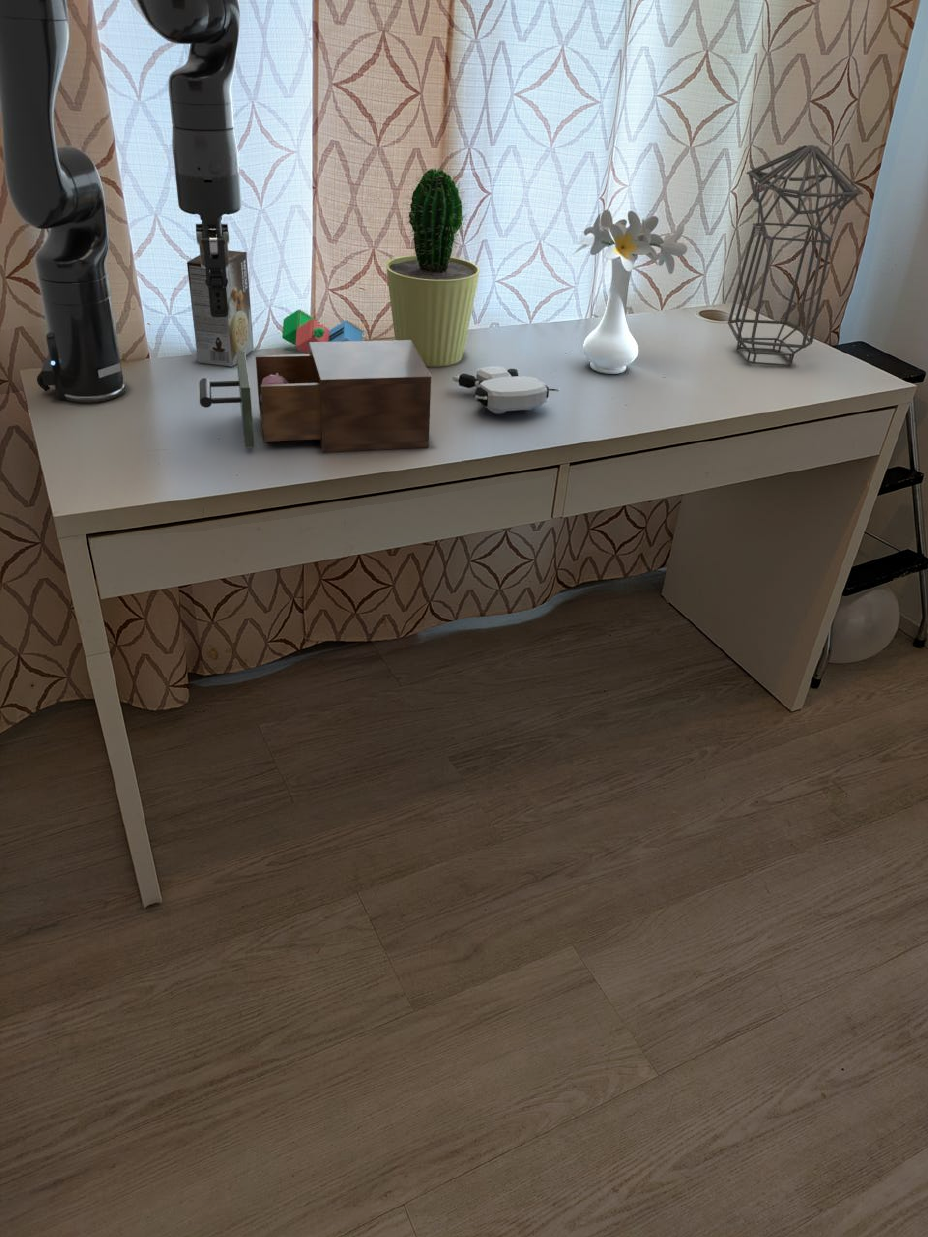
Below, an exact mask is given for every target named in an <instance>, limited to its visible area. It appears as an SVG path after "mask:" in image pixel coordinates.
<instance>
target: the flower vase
mask: <svg viewBox="0 0 928 1237" xmlns="http://www.w3.org/2000/svg"><path fill="white" fill-rule="evenodd" d="M641 219H642V220H641ZM641 219H640V217H639V215H638V214H637V213H636V212H635V211H633V210H629V211H628V212H627V219H625V218H623V219H619V220H618V221H616V222H615V223H613V216H612V212H611V211H610V210H608V209H605V210H604V211H603V212H602V213H601V212H600V213H599V214H598V215H597V217H596V219H595V221H594V223H593V226H589V227H586V228H585V229H584V230H583V235H584V237H583V238H582V240H581V241H580V242H579V245H580V246H579V247H578V248H577V249H576V250H575V251H574V253H573V254H572V255H573V256H575V255H576V254H577V253H579V252H581V251H583V250H585V249H587V248H589V247H591V248H590V251H589V254H590V255H591V256H595V255H597V254H600V252H601V251H602V250H604V249H605V248H606V249H605V250H604V251H603V258H604V259H605V260H610V261H611V278H610V286H609V287H610V288H609V291H608V296H607V303H606V308H605V312H604V314H603V316H602V319H601V321H600V323H599V324H598V326H597V327H596V328H595V329H593V330H592V331H591V332H590V333H589V334H588V335H587V337H586V338H585V339H584V342H583V343H582V344H583V345H582V351H583V355H584V356H585V357H586V359H587V360H588V361H589V366H590V368H591V369H592V370H593V371H595V372H598V373H601V374H608V375H617V374H618V375H619V374H622V373H624V372H625V371H626V370H627V366H628V365H630V364H631V363H633V362H634V360H636V358H637V357H638V356H639V346H638V342H637V340H636V338H635V336H634V335H633V334H632V332H631V331H630V329H629V325H628V321H627V303H628V296H629V294H628V293H629V286H630V280H631V275H632V272H633V270H634V267H635V264H636V261H637V260H638V257H639V256H643V255H644V256H646V257H648V258H649V259H650V260H651V261H652V262H653V263H655V264H656V265H657V266H659V267H662V266H663V265H664V263H665V266H666V269H667V272H668V274H669V275H672V274H673V273H674V270H675V265H676V264H675V258H674V257H681V256H684V255H685V254H686V253H687V252H688V246H687V245H686V243H683V242H678V241H679V240H680V239H681V237H682V236H683V234H684V232H685V225H683V224H682V225H680V226H679V227H678V228H677V229H676V230H675V231H674V232H673V234H671V233H670V232H667V233H666V234H665V235H664V238H663V237H662V236H660V235H659V234H656V233H652V232H653V231H654V230H655V229H656V228H657V226H658V224H659V222H660V219H659V217H658V216H656V215H652V216H649V217H647V218H646V219H644V218H641ZM627 220H628V221H627ZM627 224H629V225H628V227H627ZM654 247H657V248H658V249H660V252H659V253H660V254H658V252H657V251H656V249H655V248H654ZM657 260H658V261H657Z"/></svg>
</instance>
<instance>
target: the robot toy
mask: <svg viewBox="0 0 928 1237" xmlns="http://www.w3.org/2000/svg"><path fill="white" fill-rule="evenodd" d="M518 371H519V370H518V369H516V368H508V369H506V368H504V367H503V366H499V365H498V366H497V365H494V366H483V367H480V368H477V369H476V376H475V375H472V374H467V373H461V374H456V375H454V376H452V381H453V382H455V383H458V386H459V387H463V388H467V389H472V388H476V389H475V395H474V400H476V401H477V402H478V403H479V404H481V405H482V406H483V407H485V408H487V409H488V411H490V412H491V413H493V414H496V415H501V414H505V413H506V412H513V411H531V410H533V409H535V408H540V407H542V405H544V404H545V403H547V400H548V398H549V396H550V392H551V391H552V392H560V388H550V387H549V386H548V385H547V384H546V383H544V382H543V381H542V380H539V379H538V378H536V377H532V376H524V375H523V376H521V375H520V376H519V372H518Z"/></svg>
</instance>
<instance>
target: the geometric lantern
mask: <svg viewBox="0 0 928 1237" xmlns="http://www.w3.org/2000/svg"><path fill="white" fill-rule="evenodd" d="M806 158H807V161H806V165H805V168H804V172H803V176H802V177H801V176H800V177H799V176H798V177H797V176H794V177H793V176H792V175H793V174H794V173H795V172H796V171H797V169H798V168H799V167H800V166H801V164H802V163H803V161H804V160H805V159H806ZM812 163H813V164H812ZM778 164H779V165H778ZM811 164H812V165H813V171H814V174H810V175H809V172H810V169H811V168H810V167H811ZM818 164H819V166H820V168H821V169H822V172H823V173H819V168H818ZM776 165H778V166H776ZM773 166H776V167H774V169H772V170H770V171H769V172H765V171H764V170H767V169H769V168H772V167H773ZM788 171H789V173H788V174H787V175H786V173H787V172H788ZM827 171H828V172H829V174H830V175H829V174H828V173H827ZM746 175H748V178H749V182H750V186H751V191H752V194H753V197H752V200H753V201H754V202H755V203H758V207H757V208H758V209H757V222H753V223H752V228H751V232H750V237H749V240H748V245H747V247H746V252H745V255H744V258H743V259H744V260H743V263H742V267H741V271H740V275H739V279H738V282H737V286H736V290H735V294H734V298H733V301H732V306H731V309H730V311H729V317H728V320H727V325H728V327H729V329H730V330H731V332H732V334H733V336H734V338H735V340H736V341H737V344H736V349H735V350H736V351H737V353H738V354H739V355H740V356H741V357H742V358H743V360H744V361H745V362H746V363H747V364H752V365H761V366H762V365H764V366H780V367H791V366H792V365H793V360H794V357H795V354H797V353H798V352H799V351H801V350H803V349H806V348H807V347H809V346H810V345H812V344H813V343H814V335H815V331H816V325H817V319H818V315H819V309H820V305H821V298H822V294H823V289H824V288H823V287H824V283H825V279H826V278H825V277H826V272H827V268H828V262H829V257H830V251H831V246H832V243H833V241H834V239H833V237H834V234H835V231H836V229H837V228H836V227H837V225H838V222H839V219H840V216H841V212H842V210H845V207H846V206H847V205H848V204H850V203H851V202H852V201H853V200H855V198H857V197H858V196H859V195H863V194H864V191H863V190H861V188H859V186H857V184H855V182H854V181H853V180H851V178H850V177H849V176H848V175H847V174H846V173H845V172H844V171H843V170H842V169H841V168H840V167H839V166H838V164H836V163H835V162H834V161H833V160H832V159H831V158H830V157H829V156H828V155H827V154H826V153H825V152H824V151H823V150H822V148H820V146H818V145H815V144H813V145H812V144H808V145H806V144H804V145H802V146H799V147H797V148H796V149H795V148H794V150H791V151H790V152H787V153H785V154H783V155H781V156H779V157H777V158H774V159H772V160H770V161H768V162H766V163H764V164H762V165H760V166H757V167H756V168H753V169H751V170H748V171H747V172H746ZM827 178H830V179H831V178H832V179H833V181H834V192H832V193H831V192H830V193H822V191H821V185H820V184H821V183H822V182H823V181H824V180H826V179H827ZM772 179H773V180H772ZM812 179H814V180H815V181H814V182H813V183H812V184H810V185H809V186H807V187H806V188H805V185H806V182H807V181H809V180H812ZM771 180H772V181H771ZM779 180H782V182H781V183H780V184H779V185H778V186H777V185H775V184H776V183H777V182H778V181H779ZM788 181H791V182H801V183H800V185H799V189H791V188H786V186H787V183H788ZM813 188H816V189H815V190H816V192H809V191H811V190H812V189H813ZM839 188H840V189H841V191H842V192H839ZM760 189H761V190H762V189H764V190H763V192H762V194H761V195H760ZM769 190H770V191H774V192H776V194H777V197H776V199H774V202H773V203H772V205H771V206H770V208H769V209H768V210H767V212H766V214H765V215H764V209H763V204H762V202H763V200H764V198H765V197H766V196H767V194H768V192H769ZM802 197H812V198H813V197H815V198H816V200H815V207H814V208H815V209H807V207H806V204H805V203H804V200H803V198H802ZM789 198H793V199H798V200H797V207H796V206H795V205H794V203H792V202H791V201H790V200H789ZM822 198H823V199H824V198H834V200H833V201H831V202H829V203H827V204H825V205H822V206H821V207H819V203H820V202H819V201H820V200H821V199H822ZM780 199H782V200H783V201H784V202H785V203H786V204H787V205H788V206H789V207H790V209H791V210H792V211H793V212H794V215H793V216H792V217H791V218H790V219H789V220H788V221H787V222H786V223H781V222H780V223H779V222H766V221H767V219H768V217H769V216H770V214H771V213H772V212H773V210H774V208H775V207H776V205H777V204H778V202H779V201H780ZM842 202H843V203H842ZM841 203H842V204H841ZM801 205H802V207H803V210H801ZM828 208H830V209H829V210H828V212H827V213H826V214H825V216H824V217H823V219H822V220H821V216H820V212H821V211H824V210H826V209H828ZM836 208H837V209H838V212H837V217H836V219H835V222H834V226H833V228H832V231H831V233H830V235H828V234H827V233H826V232H825V231H823V225H824V224H825V222H826V221H827V220H828V218H829V217H830V215H831V214H832V213H833V211H834V210H835V209H836ZM812 214H815V216H816V220H817V226H814V224H813V223H812V220H811V218H810V215H812ZM798 215H806V218H807V219H808V222H809V224H803V223H802V224H800V223H799V224H798V223H791V222H792V221H793V220H795V218H797V216H798ZM766 226H777V227H778V226H779V227H781V228H780V229H779V230H778V231H777V232H776V233H775V234H774V235H773V236H770V235H768V234H767V231H766ZM786 227H800V228H807V229H806V230H807V231H806V235H805V238H795V237H794V238H793V237H780V236H778V235H779V234H780V233H781V232H782V231H783V230H784V229H785V228H786ZM811 230H812V231H815V233H814V238H813V239H811V238H810V234H811ZM756 231H758V235H757V238H756V242H755V246H754V249H753V252H752V256H751V260H750V263H749V268H748V271H747V275H746V278H745V282H744V286H743V290H742V293H741V297H740V301H739V305H738V308H737V312H736V315H735V319H733V316H734V312H735V308H736V305H737V301H738V297H739V293H740V290H741V286H742V282H743V280H744V279H743V278H744V276H745V272H746V267H747V263H748V259H749V256H750V252H751V248H752V244H753V241H754V237H755V233H756ZM819 234H820V239H818V236H819ZM761 237H762V239H761ZM825 238H826V239H825ZM766 240H769V246H768V251H767V255H766V260H765V265H764V270H763V276H762V280H761V281H762V282H761V286H760V291H759V297H758V302H757V307H756V312H755V316H754V319H746V316H747V312H748V310H749V309H748V308H749V304H750V302H751V298H752V293H753V290H754V287H755V282H756V278H757V275H758V271H759V267H760V264H761V261H762V260H761V259H762V257H763V253H764V252H763V251H764V247H765V243H766ZM775 240H778V241H791V242H792V241H793V242H803V246H802V250H801V254H800V258H799V263H798V265H797V268H796V269H797V270H796V274H795V278H794V281H793V285H792V289H791V293H790V296H789V297H790V298H789V301H788V305H787V308H786V313H785V316H784V319H783V320H768V319H767V320H766V319H759V317H760V312H761V307H762V303H763V302H762V301H763V297H764V293H765V292H764V291H765V286H766V282H767V277H768V271H769V267H770V261H771V257H772V252H773V247H774V242H775ZM760 242H761V243H760ZM808 243H812V247H811V253H810V257H809V258H810V259H809V261H808V262H809V263H808V268H807V274H806V279H805V284H804V289H803V294H802V299H801V305H800V309H799V315H798V319H797V324H795V323H793V322H790V321H788V319H789V315H790V312H791V309H792V306H793V305H792V304H793V301H794V297H795V293H796V289H797V286H798V282H799V278H800V274H801V270H802V267H803V262H804V259H805V254H806V251H807V247H808ZM817 243H819V249H818V253H817V254H818V255H817V260H816V265H815V271H814V276H813V280H812V281H813V282H812V288H811V293H810V299H809V304H808V309H807V316H806V321H805V326H804V329H803V328H802V327H801V325H802V320H803V314H804V309H805V305H806V299H807V295H808V289H809V283H810V279H811V274H812V273H811V272H812V269H813V263H814V258H815V252H816V247H817ZM825 244H827V245H826V246H827V247H826V251H825V255H824V261H823V266H822V273H821V277H820V282H819V288H818V292H817V298H816V302H815V309H814V314H813V320H812V324H811V330H810V334H809V335H810V336H808V332H809V327H810V321H811V316H812V310H813V305H814V301H815V300H814V299H815V294H816V288H817V283H818V277H819V271H820V266H821V262H822V256H823V255H822V254H823V249H824V245H825ZM759 246H760V247H759ZM758 249H759V251H758ZM757 253H758V255H757ZM756 257H757V259H756ZM755 261H756V263H755ZM754 263H755V267H754ZM753 267H754V271H753ZM752 272H753V274H752ZM751 274H752V278H751ZM750 278H751V282H750V285H749V281H750ZM748 285H749V286H748ZM748 287H749V289H748ZM747 289H748V293H747ZM746 293H747V297H745V296H746ZM745 298H746V301H745V304H744V308H743V303H744V300H745ZM742 308H743V311H742ZM741 311H742V316H741V318H740V315H741ZM739 323H740V324H739ZM745 323H747V324H753V327H752V333H751V337H743V336H742V333H743V329H744V324H745ZM733 324H735V327H736V329H737V331H736V329H735V327H734V325H733ZM758 324H771V325H781V327H780V330H779V332H778V334H777V337H756V333H757V328H758ZM785 325H787V326H790V327H792V328H794V329H792V330H791V331H790V332H788V334H786V335H785V336H784V337H783V338H782V339H780V337H781V335H782V332H783V330H784V328H785ZM797 330H798V331H799V333H800V334H801V335H802V336H803V338H802V343H801V344H795V343H786V342H785V340H787V338H789V337H790V336H792V334H793V333H794V332H796V331H797ZM769 341H773V342H769ZM746 344H749V345H751V347H748V346H747V345H746ZM756 346H769V347H772V348H763V347H761V348H760V347H756ZM776 347H778V349H776ZM782 347H783V348H787V349H788V350H789V351H790V352H791V353H789V352H783V351H782V350H781V349H782ZM792 348H796V349H795V350H794V349H792ZM742 350H745V351H746V352H747V353H748V354H747V357H746V356H745V355H744V354H743V352H742ZM751 355H753V359H752V360H750V358H751ZM757 355H770V356H782V357H783V359H785V360H786V362H787V363H779V362H765V361H764V362H761V361H756V358H757ZM787 356H788V357H787Z"/></svg>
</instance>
